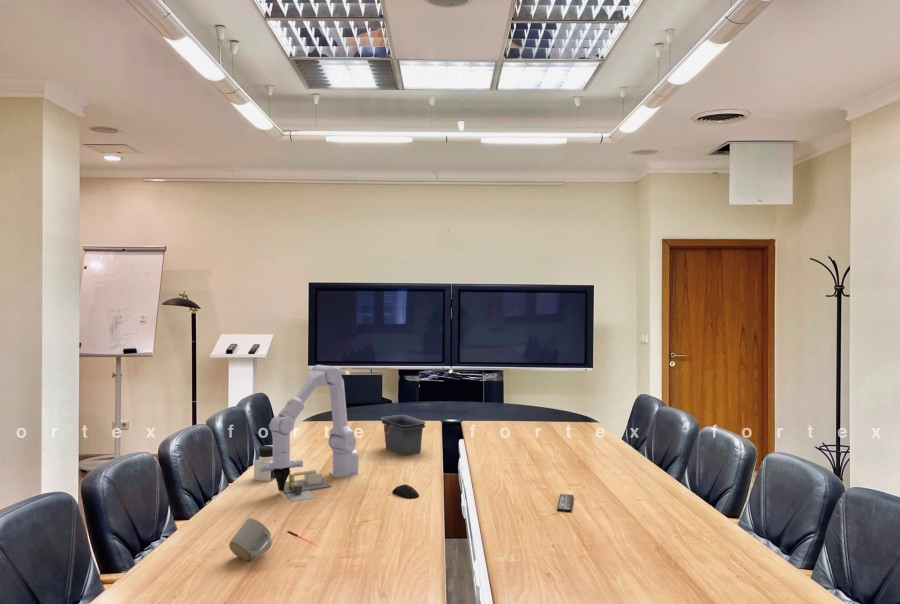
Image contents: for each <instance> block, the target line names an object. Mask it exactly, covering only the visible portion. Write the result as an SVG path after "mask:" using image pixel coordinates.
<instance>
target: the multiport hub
mask: <svg viewBox="0 0 900 604" xmlns="http://www.w3.org/2000/svg"><path fill="white" fill-rule="evenodd" d="M574 498H575V497H574V495H573V494H566V493H560V494H559V498H558V503H557V505H556V506H557V507H556V512H563V513H564V512H566V513H571V512H572V510H573V503H574Z"/></svg>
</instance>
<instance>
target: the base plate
mask: <svg viewBox="0 0 900 604" xmlns="http://www.w3.org/2000/svg"><path fill="white" fill-rule="evenodd" d="M294 481H295V482H296V483H297V484H298V485H301V486H302V492H303V491H310V492H311V491H315V490H321V489H328V488H332V485H331V484H330V483H329V482H328V481H327V480H326V479H325V478H324V477H322V483H317V484H311V485H308V484H307V483H306V482H305V481H304V478H303V479H299V480H298V479H296V480H294ZM283 493H284V494H285V495H286V494H290V493H294V491H293V490H292V488H291V487H290V486H289V481H286V483H285V486H284V492H283Z"/></svg>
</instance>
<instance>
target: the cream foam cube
mask: <svg viewBox="0 0 900 604" xmlns="http://www.w3.org/2000/svg"><path fill="white" fill-rule="evenodd" d="M314 470H315V471H316V473H313V474H306V475H303V476H304V478H303V479H304V481H305V482H306V483H307V484H308V485H311V484H317V483H322V478H323V477H322V476H323V473H322V472H321V471H320V470H319V469H314Z"/></svg>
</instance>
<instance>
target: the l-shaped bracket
mask: <svg viewBox="0 0 900 604" xmlns="http://www.w3.org/2000/svg"><path fill="white" fill-rule="evenodd" d="M315 470H316V469H313V470H305V471H299V472H290V474H289V476H288V482H289V486H290V487H291V488H292V490H293V491H294V493H295V494H300V493H302V486H301V485H298V484H297V483H296V482H295V481H296V480H295V477H298V476H304V475H306V474H313V473H316V471H315Z"/></svg>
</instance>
